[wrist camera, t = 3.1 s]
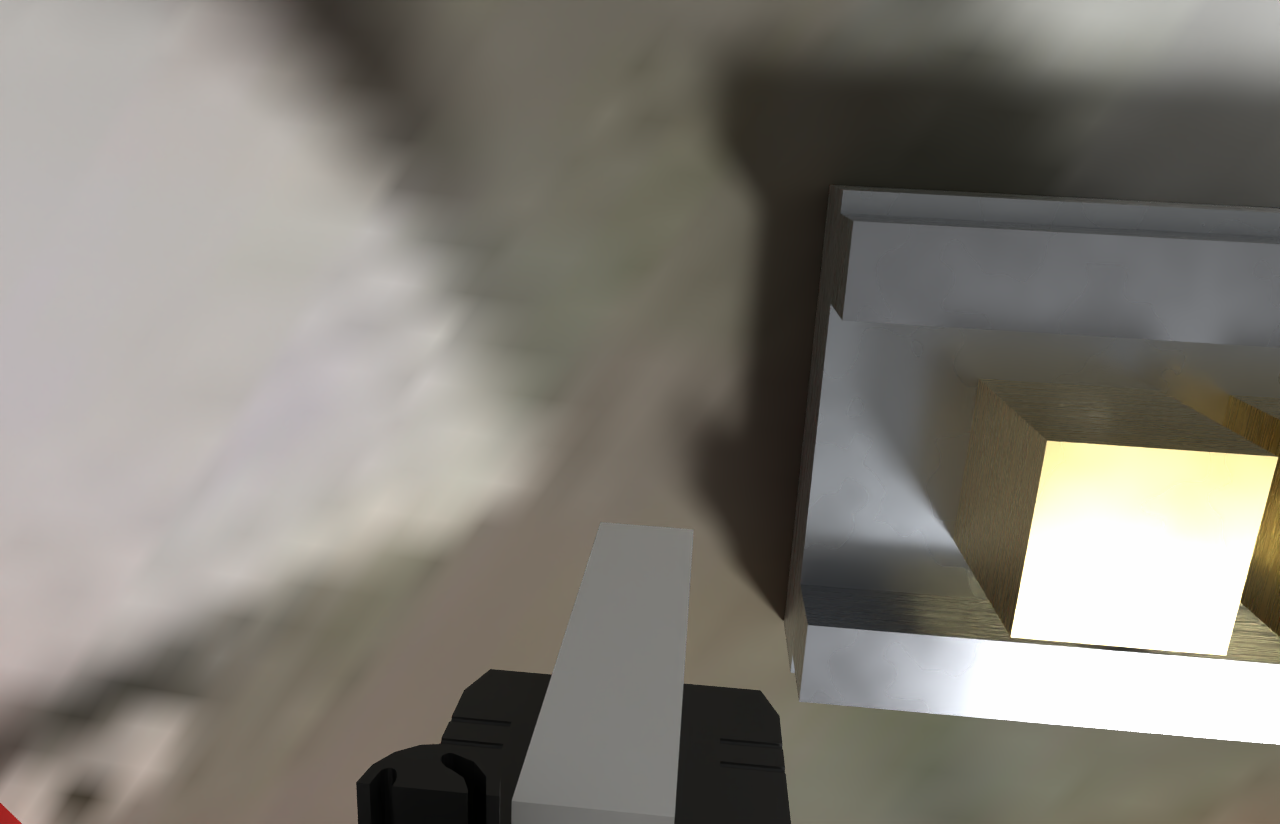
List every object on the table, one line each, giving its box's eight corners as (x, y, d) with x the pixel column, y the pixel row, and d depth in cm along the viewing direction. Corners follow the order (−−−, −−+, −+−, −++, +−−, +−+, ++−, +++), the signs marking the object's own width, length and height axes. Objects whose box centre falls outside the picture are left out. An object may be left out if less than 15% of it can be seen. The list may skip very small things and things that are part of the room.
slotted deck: (829, 184, 22) (856, 195, 18) (1525, 221, 21) (1732, 241, 17) (783, 622, 26) (796, 719, 21) (1379, 672, 25) (1519, 785, 20)
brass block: (978, 378, 21) (1047, 440, 16) (1160, 390, 20) (1278, 457, 16) (953, 539, 22) (1010, 637, 18) (1124, 552, 22) (1225, 655, 17)
